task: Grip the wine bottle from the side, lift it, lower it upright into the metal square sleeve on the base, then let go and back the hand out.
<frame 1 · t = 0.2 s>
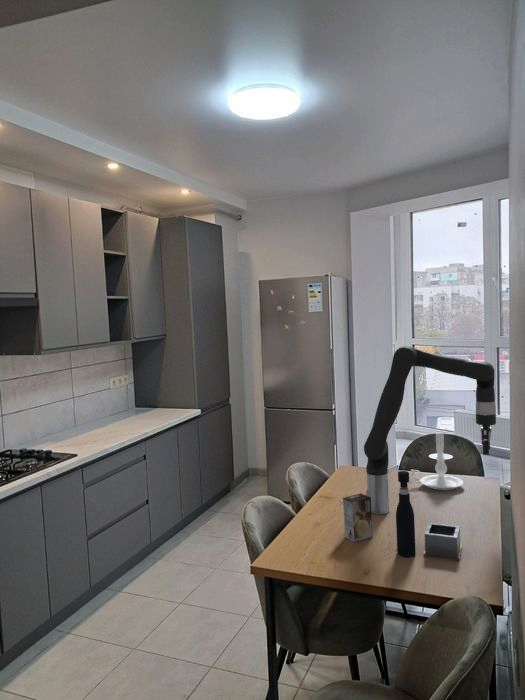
hand: (486, 451, 216), 29 cm above the table, fingers open, 8 cm apart
wine bottle: (406, 554, 194), on the table
candlestick: (437, 487, 265), on the table
bottle sleeve: (443, 551, 194), on the table
coffee box: (358, 537, 210), on the table
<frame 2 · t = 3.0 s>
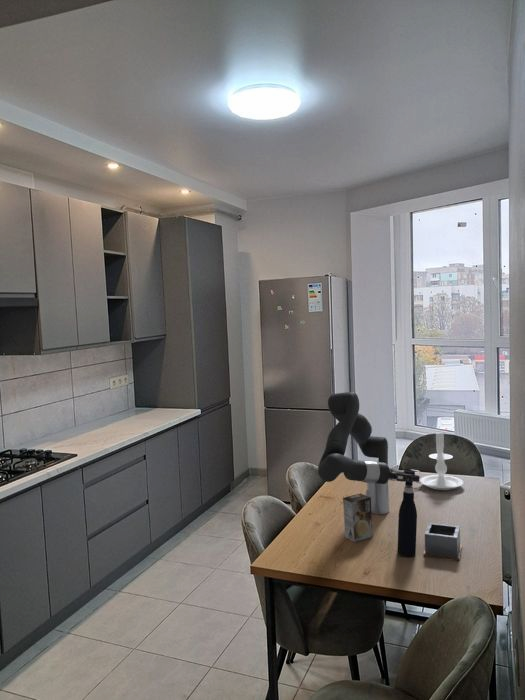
hand: (411, 476, 192), 28 cm above the table, fingers open, 8 cm apart
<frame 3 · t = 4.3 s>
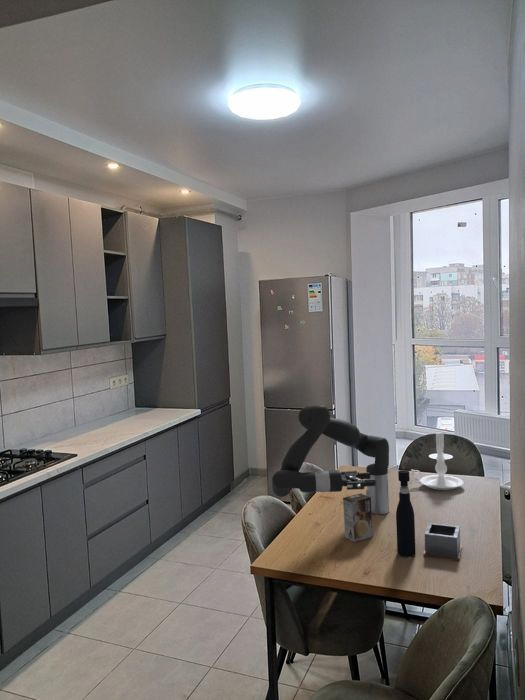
hand: (372, 479, 192), 28 cm above the table, fingers open, 8 cm apart
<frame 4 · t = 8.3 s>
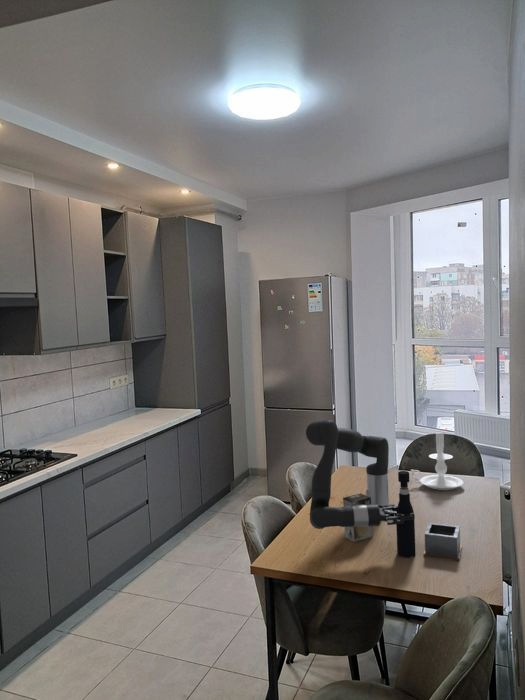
hand: (411, 512, 193), 15 cm above the table, fingers closed on wine bottle, 6 cm apart
wine bottle: (406, 554, 194), on the table, touching gripper
everything else where it was.
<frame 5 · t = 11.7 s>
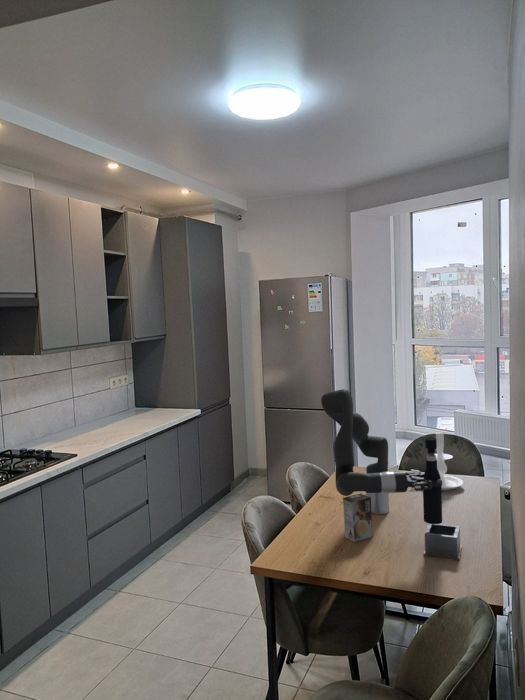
hand: (438, 479, 192), 27 cm above the table, fingers closed on wine bottle, 6 cm apart
wine bottle: (433, 521, 193), point 11 cm above the table, touching gripper
everything else where it was.
when the fingers open (17 cm above the table, at t = 14.9 s): wine bottle drops 1 cm, resting on bottle sleeve.
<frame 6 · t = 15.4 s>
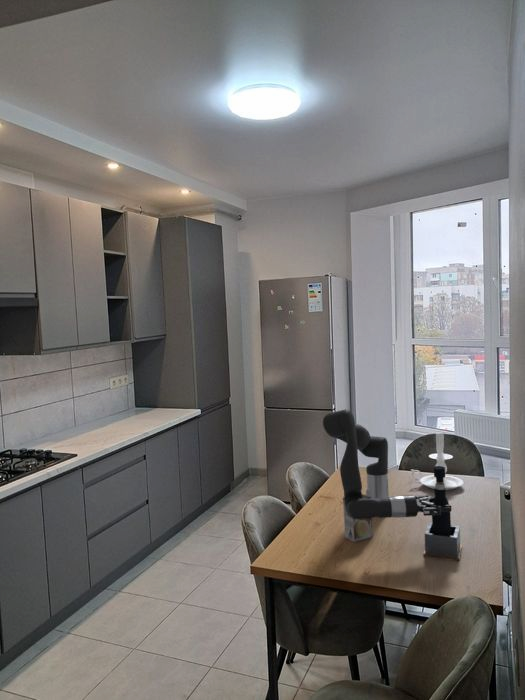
hand: (446, 503, 193), 18 cm above the table, fingers open, 8 cm apart
wine bottle: (442, 549, 194), point 1 cm above the table, touching bottle sleeve
everything else where it was.
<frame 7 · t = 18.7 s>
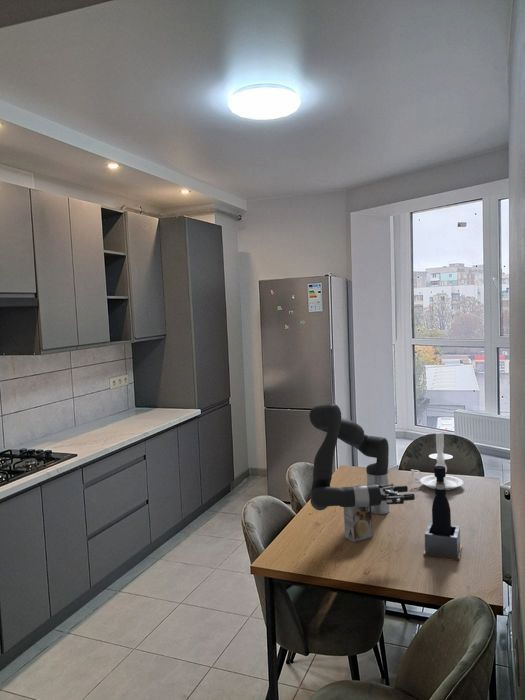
hand: (410, 492, 193), 22 cm above the table, fingers open, 8 cm apart
nothing on the table moved.
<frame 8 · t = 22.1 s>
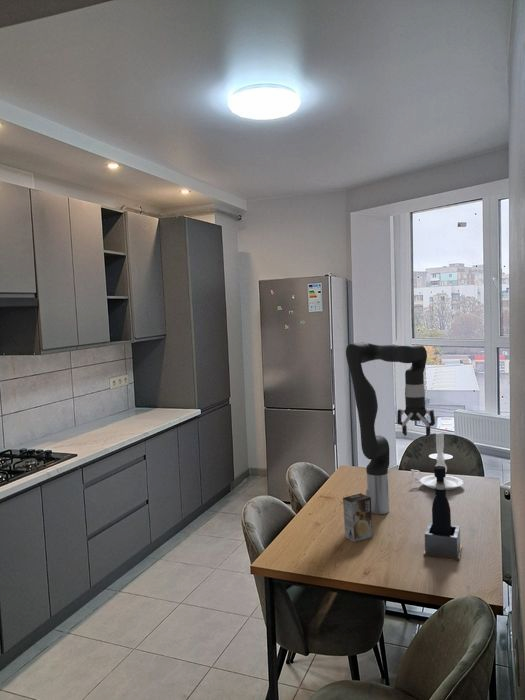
hand: (416, 435, 213), 38 cm above the table, fingers open, 8 cm apart
nothing on the table moved.
at the end: wine bottle 0.2 cm off-centre on the bottle sleeve, point 0.8 cm above the bottle sleeve's base; wine bottle tilted 0°; the gripper is holding nothing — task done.
